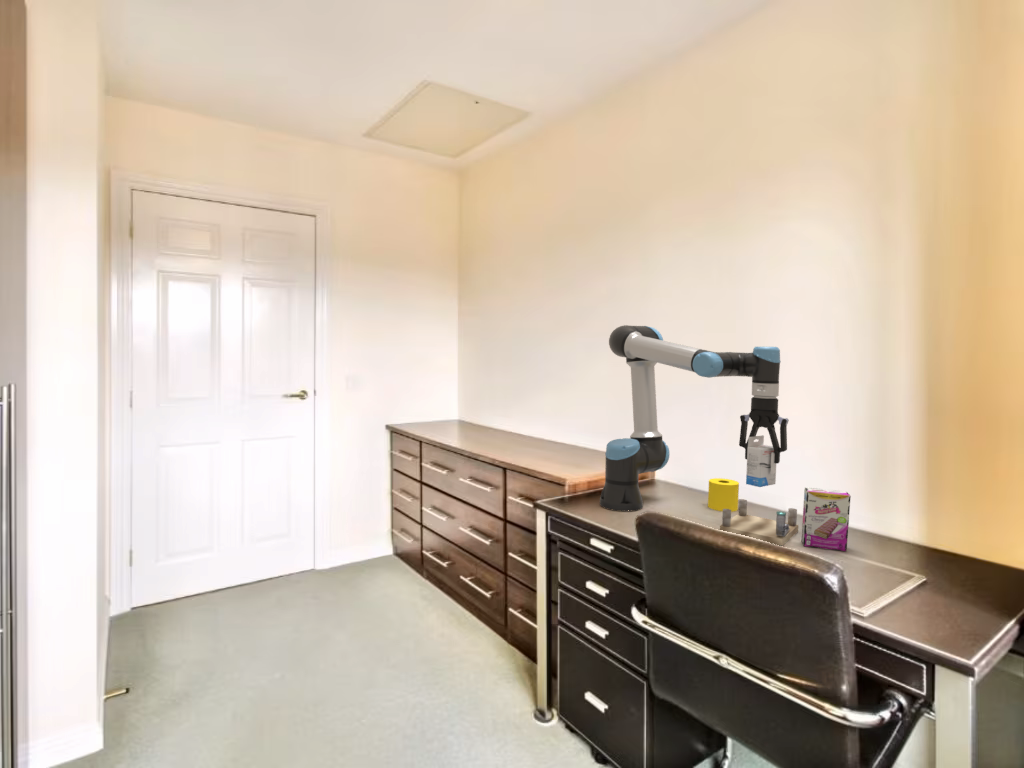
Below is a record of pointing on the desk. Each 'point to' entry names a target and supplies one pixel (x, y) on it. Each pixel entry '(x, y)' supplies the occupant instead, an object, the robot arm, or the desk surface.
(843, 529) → the candy bar box
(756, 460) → the ink box
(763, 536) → the peg board
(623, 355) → the robot arm
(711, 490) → the yellow paper roll
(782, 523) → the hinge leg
